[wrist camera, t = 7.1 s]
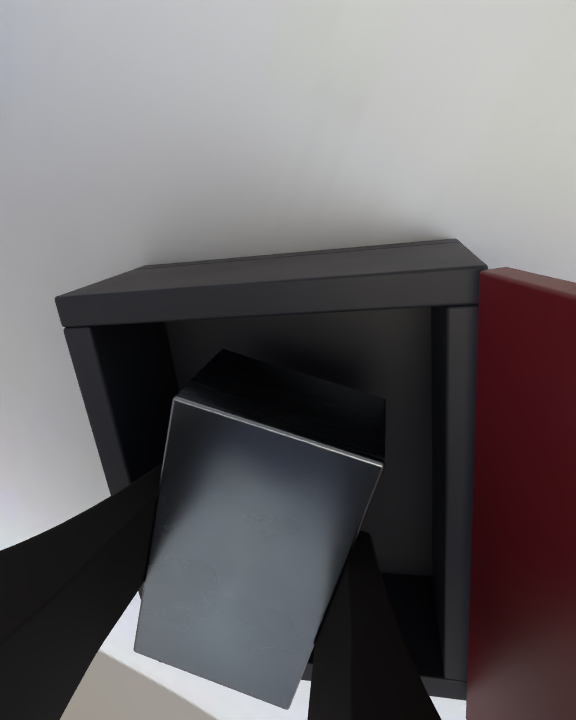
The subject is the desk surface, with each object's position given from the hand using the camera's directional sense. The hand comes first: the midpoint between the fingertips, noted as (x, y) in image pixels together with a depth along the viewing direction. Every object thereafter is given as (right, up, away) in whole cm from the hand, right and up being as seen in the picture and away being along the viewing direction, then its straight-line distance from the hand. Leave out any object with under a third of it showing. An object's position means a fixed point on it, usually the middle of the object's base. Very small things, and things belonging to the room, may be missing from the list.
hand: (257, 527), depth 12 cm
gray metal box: (0, +1, +1) cm, 1 cm away
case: (+1, +2, +5) cm, 5 cm away
